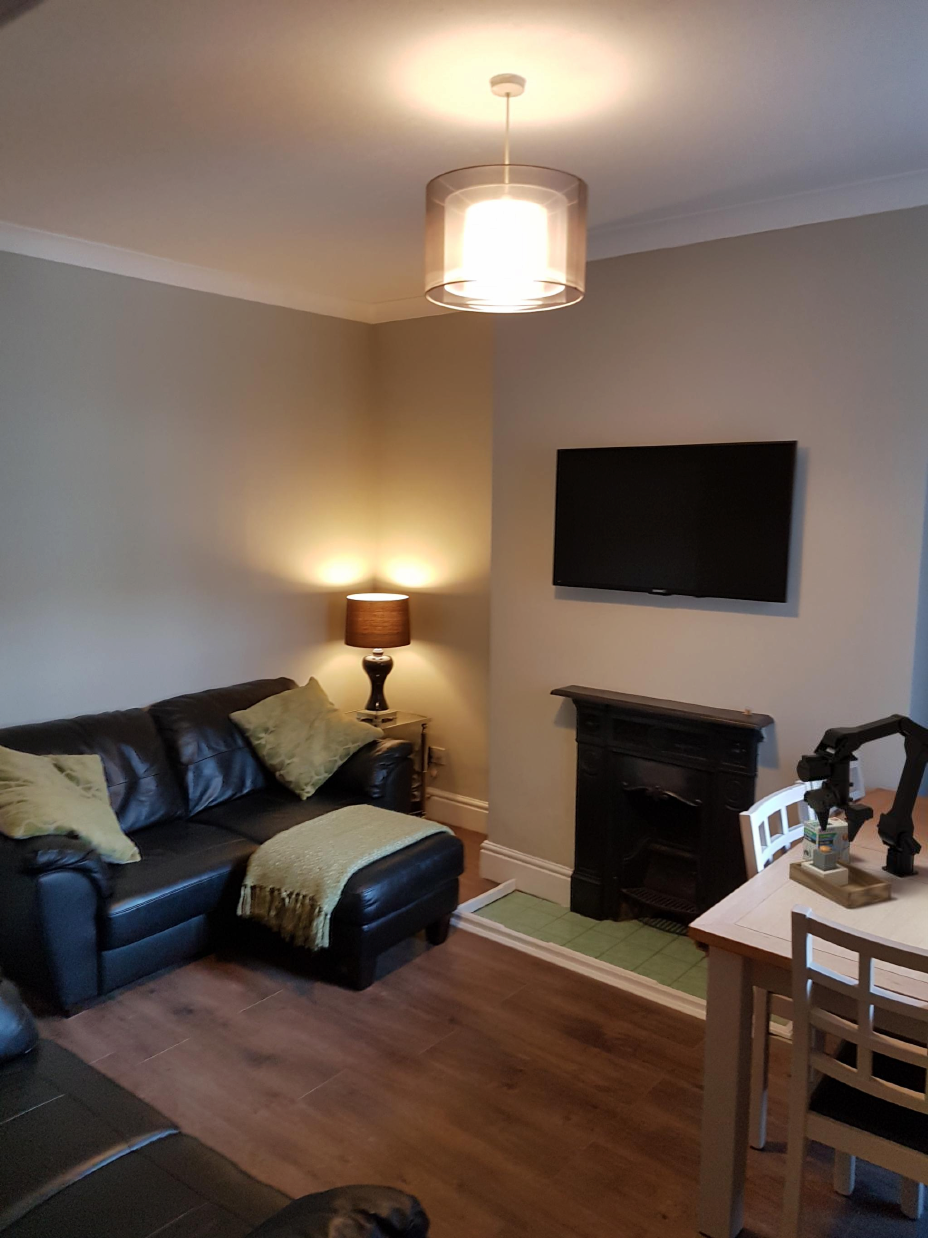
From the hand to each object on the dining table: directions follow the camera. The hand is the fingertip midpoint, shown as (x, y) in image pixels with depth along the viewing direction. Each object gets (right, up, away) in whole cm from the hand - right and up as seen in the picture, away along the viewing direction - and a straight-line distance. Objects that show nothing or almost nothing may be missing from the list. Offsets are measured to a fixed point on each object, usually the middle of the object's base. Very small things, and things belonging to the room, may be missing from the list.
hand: (837, 836), depth 238 cm
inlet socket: (-4, -12, -1) cm, 13 cm away
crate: (-1, -12, -5) cm, 13 cm away
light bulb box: (+3, -10, +14) cm, 18 cm away
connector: (-4, -11, -1) cm, 12 cm away
